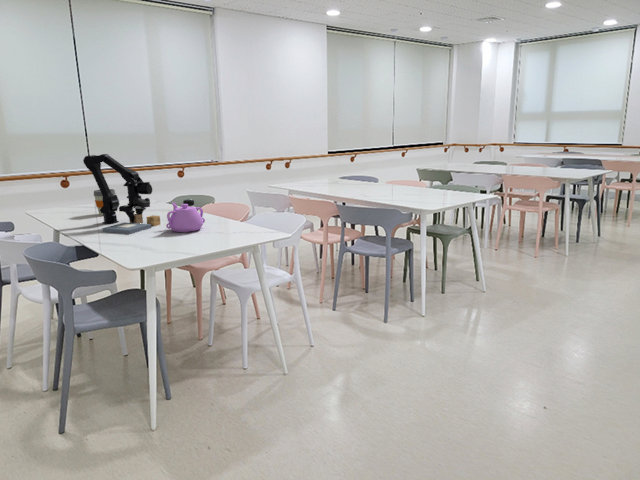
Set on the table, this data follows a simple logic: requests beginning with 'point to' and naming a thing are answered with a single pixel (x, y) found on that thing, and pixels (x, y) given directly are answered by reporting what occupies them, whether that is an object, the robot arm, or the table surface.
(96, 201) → the reusable coffee cup
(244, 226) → the table surface
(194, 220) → the teapot
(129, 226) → the board
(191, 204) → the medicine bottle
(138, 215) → the walnut block
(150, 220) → the ochre block
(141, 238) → the table surface
